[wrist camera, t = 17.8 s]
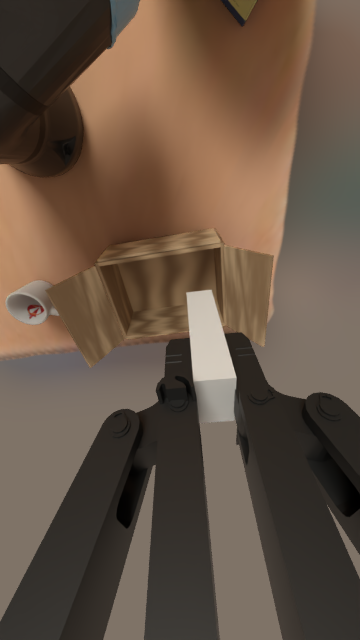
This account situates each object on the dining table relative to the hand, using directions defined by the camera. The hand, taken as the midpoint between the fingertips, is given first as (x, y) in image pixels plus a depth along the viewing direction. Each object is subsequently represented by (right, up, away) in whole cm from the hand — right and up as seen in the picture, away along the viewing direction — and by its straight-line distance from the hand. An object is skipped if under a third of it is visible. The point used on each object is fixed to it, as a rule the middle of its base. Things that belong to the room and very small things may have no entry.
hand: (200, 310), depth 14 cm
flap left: (-14, +2, +28) cm, 32 cm away
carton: (-4, +9, +36) cm, 37 cm away
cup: (-32, +6, +38) cm, 50 cm away
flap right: (+7, +5, +27) cm, 28 cm away
